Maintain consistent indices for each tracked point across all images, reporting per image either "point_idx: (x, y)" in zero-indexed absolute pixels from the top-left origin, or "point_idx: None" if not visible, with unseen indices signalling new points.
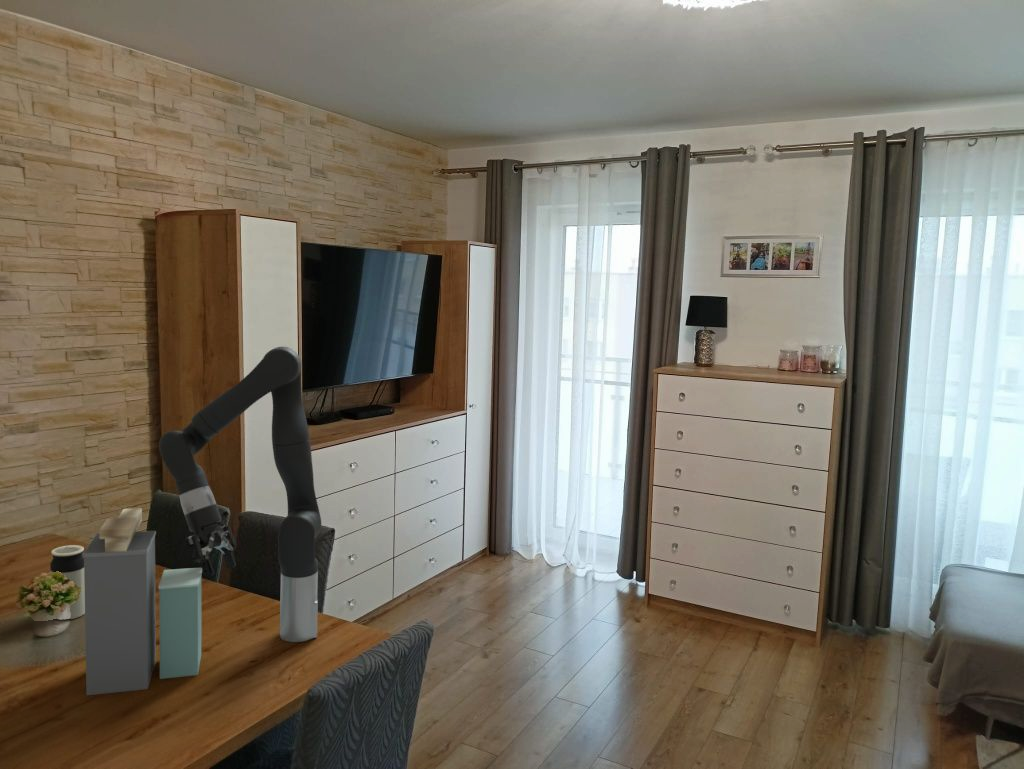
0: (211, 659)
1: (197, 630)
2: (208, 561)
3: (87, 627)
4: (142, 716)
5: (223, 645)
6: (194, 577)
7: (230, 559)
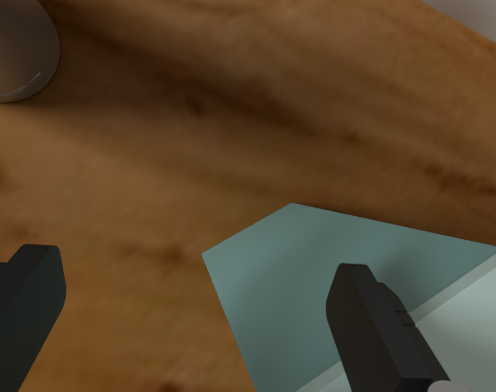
0: (216, 214)
1: (350, 215)
2: (420, 363)
3: None
4: (441, 212)
5: (137, 228)
6: (443, 346)
7: (23, 313)
